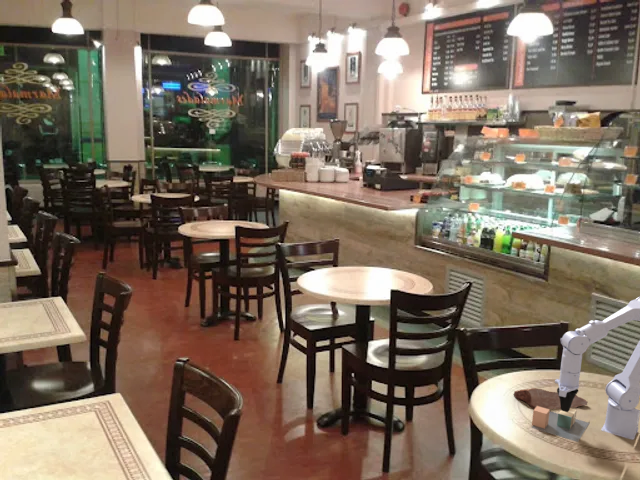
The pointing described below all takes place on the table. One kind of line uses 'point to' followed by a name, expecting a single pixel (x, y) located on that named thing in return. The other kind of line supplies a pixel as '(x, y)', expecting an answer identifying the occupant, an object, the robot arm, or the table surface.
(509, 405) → the table surface
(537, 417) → the terracotta block
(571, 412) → the beech block
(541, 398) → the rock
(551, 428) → the slate board
